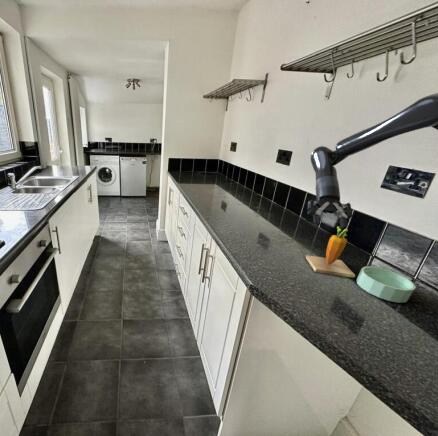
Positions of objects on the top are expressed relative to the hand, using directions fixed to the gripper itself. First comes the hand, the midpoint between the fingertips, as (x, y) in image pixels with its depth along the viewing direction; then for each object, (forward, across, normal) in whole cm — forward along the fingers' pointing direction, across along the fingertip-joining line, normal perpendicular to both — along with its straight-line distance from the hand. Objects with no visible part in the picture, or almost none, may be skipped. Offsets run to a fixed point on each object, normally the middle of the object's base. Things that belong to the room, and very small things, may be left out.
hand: (330, 226), depth 88 cm
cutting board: (+15, 0, +4) cm, 15 cm away
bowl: (+22, +11, -3) cm, 25 cm away
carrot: (+14, 0, +4) cm, 14 cm away
